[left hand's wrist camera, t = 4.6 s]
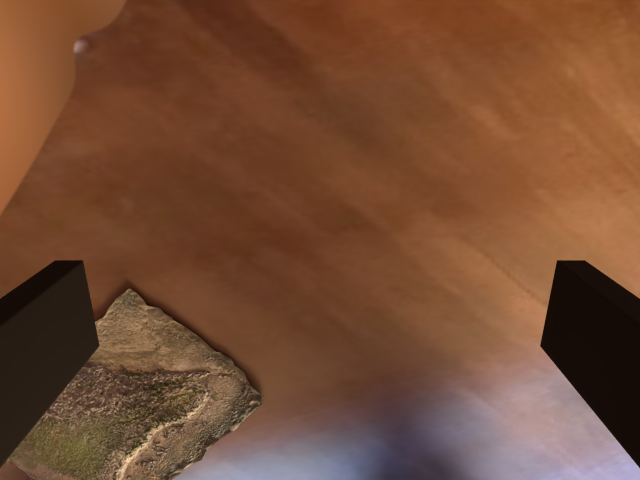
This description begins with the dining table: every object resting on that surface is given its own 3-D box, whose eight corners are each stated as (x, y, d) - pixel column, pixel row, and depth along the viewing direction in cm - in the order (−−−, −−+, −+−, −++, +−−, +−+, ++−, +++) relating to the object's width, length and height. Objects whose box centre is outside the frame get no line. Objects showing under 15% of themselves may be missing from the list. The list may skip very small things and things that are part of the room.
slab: (128, 532, 55) (125, 539, 54) (-23, 446, 50) (-29, 453, 49) (275, 390, 47) (275, 396, 47) (115, 276, 43) (111, 280, 42)
